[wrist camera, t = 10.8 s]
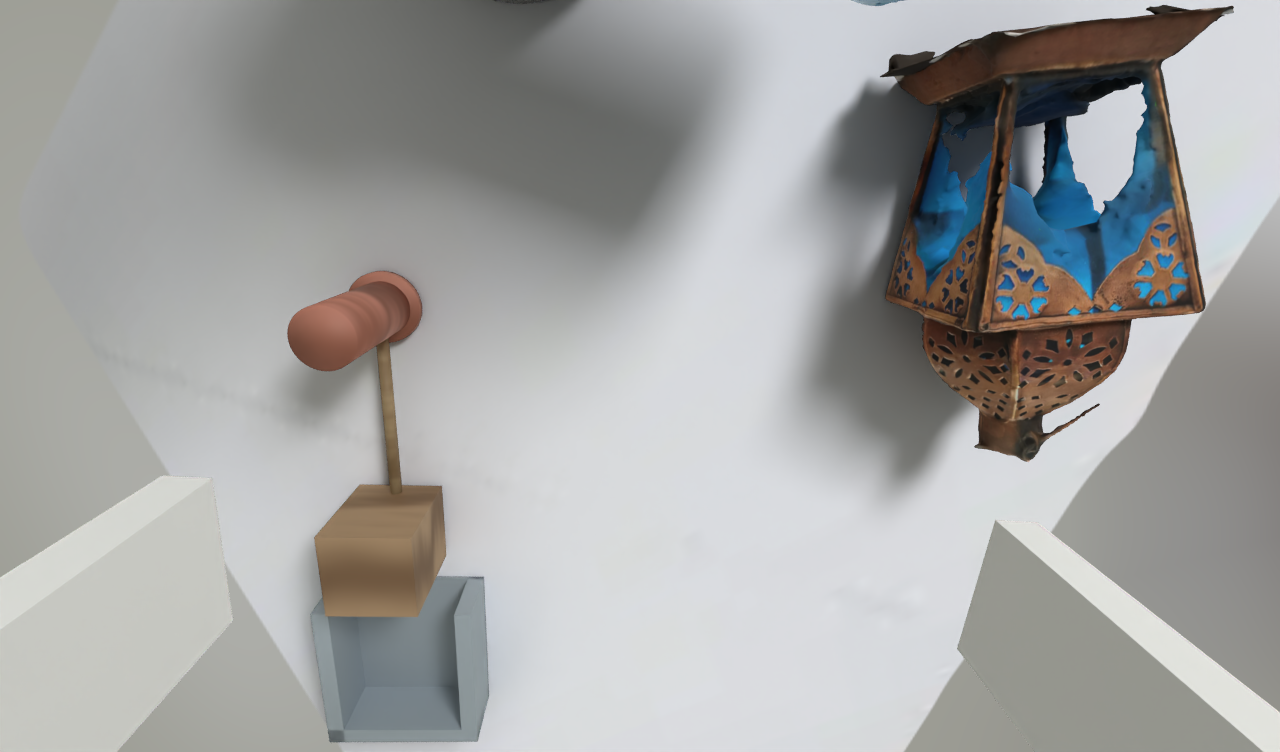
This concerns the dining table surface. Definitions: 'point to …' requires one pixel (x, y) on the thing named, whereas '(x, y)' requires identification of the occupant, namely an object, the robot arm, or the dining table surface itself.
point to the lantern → (1044, 220)
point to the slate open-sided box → (407, 669)
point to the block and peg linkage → (387, 514)
